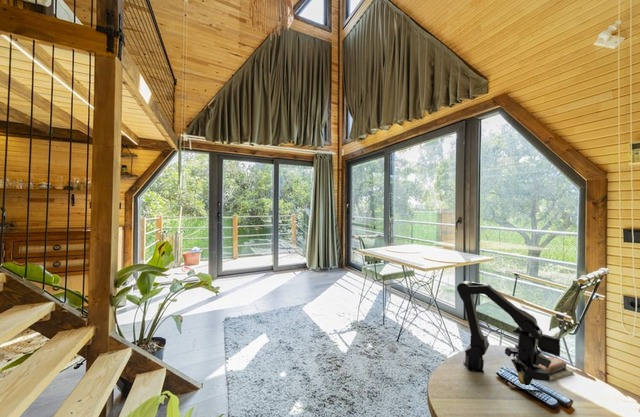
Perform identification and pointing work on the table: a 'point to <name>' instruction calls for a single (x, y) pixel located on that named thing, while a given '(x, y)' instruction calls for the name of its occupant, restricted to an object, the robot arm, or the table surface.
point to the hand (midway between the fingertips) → (524, 383)
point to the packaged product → (556, 368)
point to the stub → (518, 379)
